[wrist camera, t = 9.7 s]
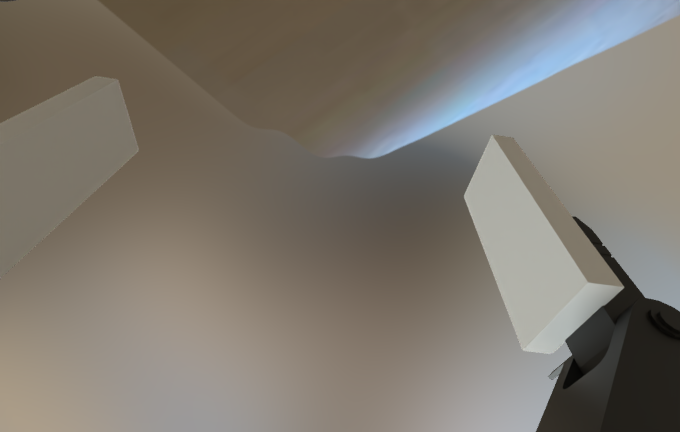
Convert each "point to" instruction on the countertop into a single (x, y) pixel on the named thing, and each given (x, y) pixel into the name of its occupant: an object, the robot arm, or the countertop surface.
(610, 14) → the countertop surface
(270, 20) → the countertop surface
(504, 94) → the countertop surface
